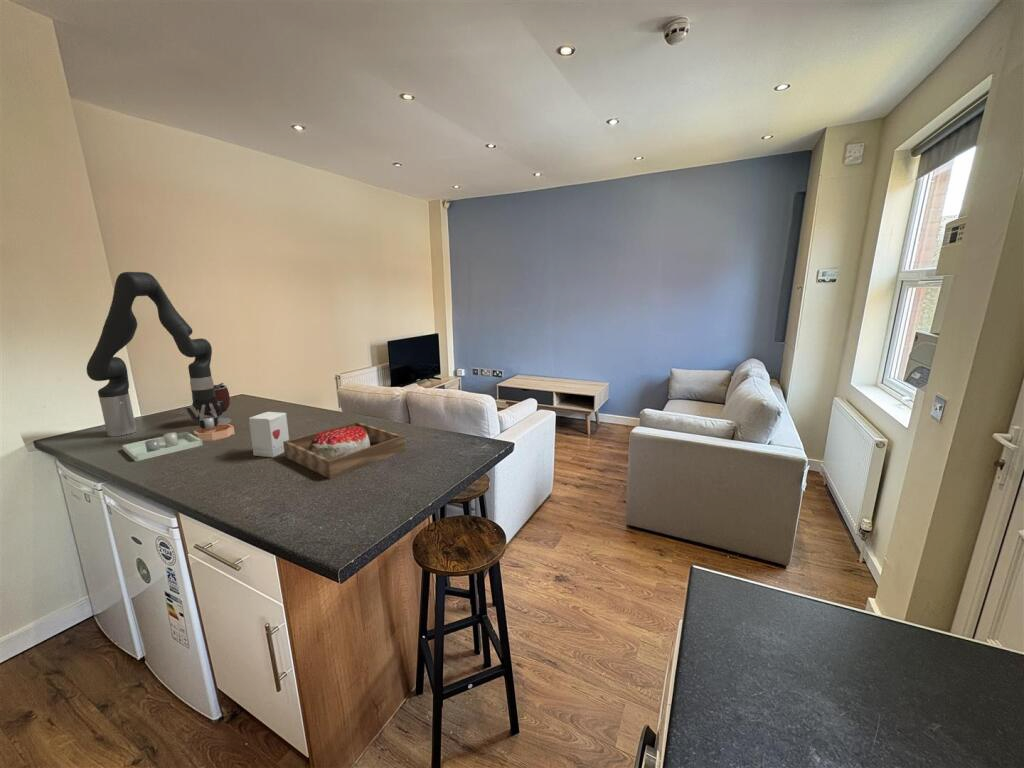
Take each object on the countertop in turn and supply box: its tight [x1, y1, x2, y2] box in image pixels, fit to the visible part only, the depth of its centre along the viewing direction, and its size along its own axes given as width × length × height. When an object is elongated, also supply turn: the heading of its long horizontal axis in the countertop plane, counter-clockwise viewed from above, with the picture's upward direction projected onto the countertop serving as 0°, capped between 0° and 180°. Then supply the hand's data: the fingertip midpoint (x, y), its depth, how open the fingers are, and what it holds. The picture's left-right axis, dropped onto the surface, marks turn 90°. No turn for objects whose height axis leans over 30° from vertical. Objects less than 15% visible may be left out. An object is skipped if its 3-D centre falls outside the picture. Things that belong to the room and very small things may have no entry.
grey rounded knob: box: [145, 439, 160, 452], centre depth 149 cm, size 4×4×5 cm
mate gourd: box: [191, 382, 232, 424], centre depth 187 cm, size 16×14×20 cm
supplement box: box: [248, 411, 290, 458], centre depth 152 cm, size 9×9×15 cm
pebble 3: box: [203, 416, 215, 431], centre depth 168 cm, size 4×4×5 cm
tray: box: [121, 431, 204, 462], centre depth 155 cm, size 18×20×3 cm
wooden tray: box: [283, 421, 406, 480], centre depth 152 cm, size 31×30×6 cm
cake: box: [309, 426, 371, 460], centre depth 151 cm, size 23×24×10 cm
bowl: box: [192, 423, 235, 442], centre depth 169 cm, size 13×13×4 cm
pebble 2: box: [163, 431, 178, 448], centre depth 157 cm, size 4×4×5 cm
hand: (209, 427), depth 168 cm, fingers closed on pebble 3, 3 cm apart
